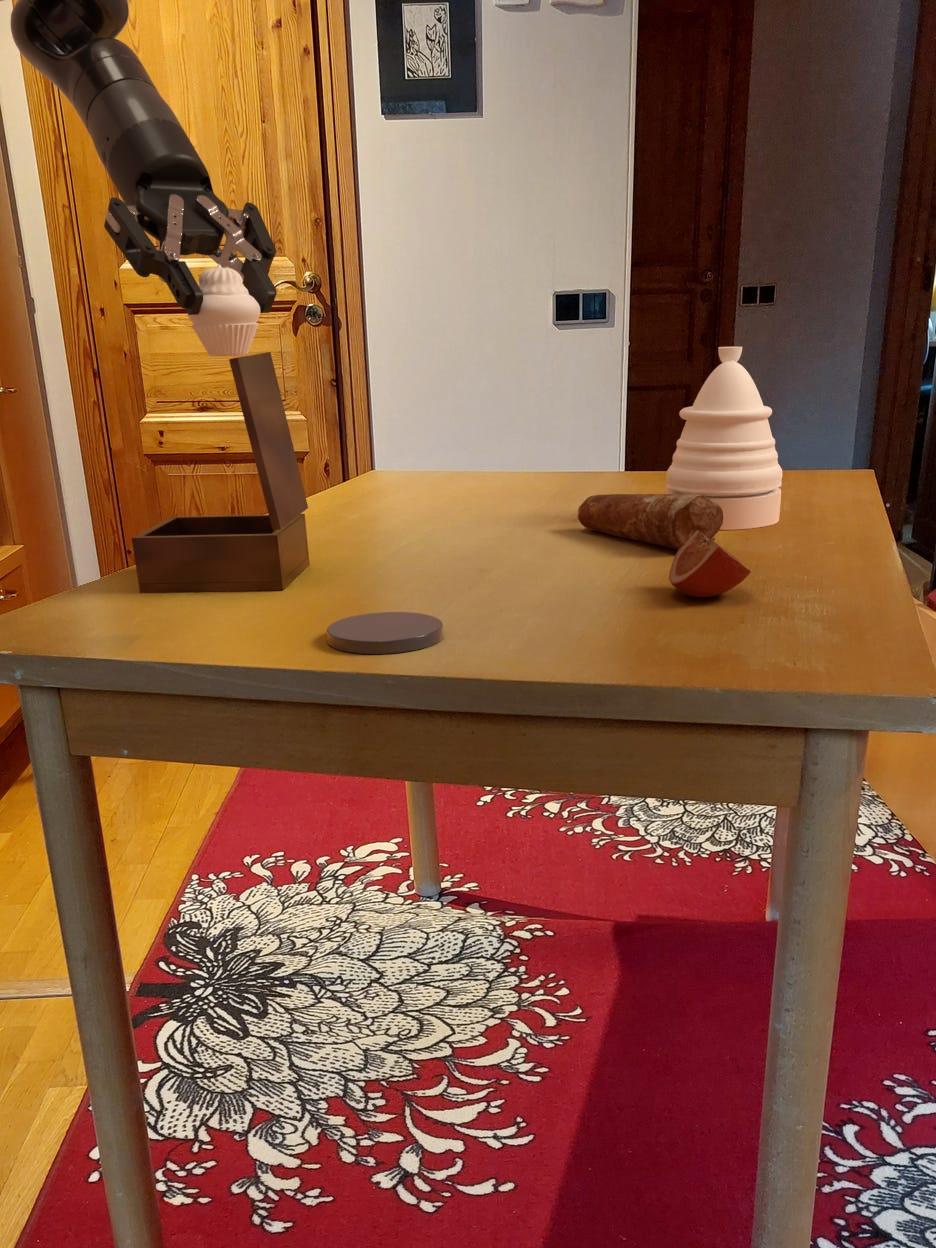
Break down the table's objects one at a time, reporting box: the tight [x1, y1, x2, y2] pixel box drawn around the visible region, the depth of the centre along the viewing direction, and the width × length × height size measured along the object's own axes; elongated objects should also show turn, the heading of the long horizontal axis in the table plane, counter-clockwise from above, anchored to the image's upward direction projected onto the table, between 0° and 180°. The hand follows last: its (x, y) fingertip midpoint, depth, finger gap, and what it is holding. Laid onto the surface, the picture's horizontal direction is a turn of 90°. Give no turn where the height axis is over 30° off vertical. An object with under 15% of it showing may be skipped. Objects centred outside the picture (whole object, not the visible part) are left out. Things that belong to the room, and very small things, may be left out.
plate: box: [326, 611, 444, 655], centre depth 91 cm, size 9×9×1 cm
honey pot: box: [664, 346, 783, 531], centre depth 129 cm, size 13×13×18 cm
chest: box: [131, 513, 311, 593], centre depth 112 cm, size 14×12×5 cm
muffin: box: [186, 264, 261, 357], centre depth 98 cm, size 6×6×7 cm
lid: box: [228, 351, 309, 531], centre depth 107 cm, size 14×12×1 cm
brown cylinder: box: [577, 493, 723, 551], centre depth 123 cm, size 6×19×6 cm, turn 31°
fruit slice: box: [668, 530, 752, 598], centre depth 99 cm, size 8×7×5 cm
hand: (233, 305), depth 97 cm, fingers closed on muffin, 6 cm apart
